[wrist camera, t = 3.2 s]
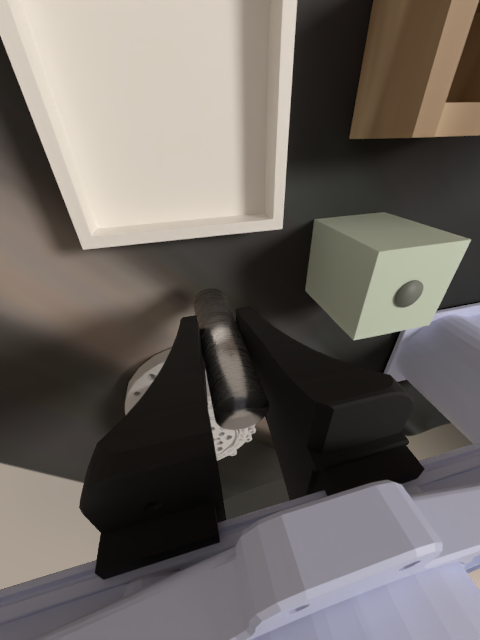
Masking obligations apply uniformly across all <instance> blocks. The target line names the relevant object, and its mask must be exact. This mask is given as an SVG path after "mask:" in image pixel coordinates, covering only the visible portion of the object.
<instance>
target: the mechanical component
mask: <svg viewBox="0 0 480 640" xmlns="http://www.w3.org/2000/svg"><path fill="white" fill-rule="evenodd" d="M171 349H172V348H170V349H168V350H165V351H163V352H161V353H159V354H156V355H154V356H153V357H152V358H151V359H149V360H148V361H147V362H146V363H144V364H143V365H142V366H141V367H139V368H138V370H137V371H136V373H135V374H134V375H133V377H132V378H131V380H130V381H129V383H128V388H127V394H126V400H125V414H126V415H127V413H128V412H129V411H130V410H131V409H132V408H133V407H134V405H135V404H136V403H137V402H138V401H139V400H140V398H141V397H142V396H143V395H144V393H145V392H146V391H147V389H148V388H149V386H150V385H151V384H152V382H153V381H154V379H155V378H156V376H157V375H158V373H159V371H160V370H161V368H162V366H163V365H164V363H165V361H166V359H167V357H168V355H169V353H170V351H171ZM205 373H206V369H205ZM206 387H207V401H208V411H209V417H210V423H211V428H212V434H213V440H214V446H215V451H216V458H217V461H218V460H220V459H222V458H224V457H226V456H228V455H230V456H234V455H236V454H237V451H236V449H238V448H239V447H241V446H242V445H243V444H244V443H245V442H249V441H251V440H252V436H251V434H253V433H255V432H256V429H255V425H256V424H257V423H256V424H254V425H252V426H250V427H247V428H244V429H239V430H228V429H224V428H222V427H220V426H219V425H218V424H217V423H216V421H215V417H214V412H213V407H212V401H211V396H210V391H209V385H208V380H207V375H206Z"/></svg>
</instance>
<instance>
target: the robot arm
mask: <svg viewBox="0 0 480 640" xmlns="http://www.w3.org/2000/svg"><path fill="white" fill-rule="evenodd" d="M236 323H237V326H238V328H239V331H240V333H241V335H242V338H243V340H244V343H245V345H246V348H247V350H248V353H249V355H250V357H251V360H252V362H253V365H254V367H255V370H256V372H257V375H258V377H259V379H260V382H261V384H262V387H263V389H264V392H265V394H266V396H267V399H268V401H269V410H268V412H267V414H266V415H265V417H266V420H267V423H268V427H269V430H270V433H271V436H272V440H273V443H274V446H275V449H276V453H277V456H278V460H279V463H280V467H281V470H282V473H283V477H284V481H285V484H286V488H287V492H288V495H289V499H290V501H287V502H284V503H281V504H277V505H274V506H271V507H268V508H264V509H261V510H258V511H255V512H251V513H248V514H245V515H242V516H239V517H235V518H232V519H229V520H226V515H225V509H224V503H223V496H222V490H221V483H220V477H219V470H218V464H217V458H216V451H215V446H214V440H213V434H212V428H211V423H210V417H209V411H208V401H207V387H206V373H205V364H204V359H203V354H202V345H201V337H200V331H199V324H198V319H197V315H195V316H189V317H183V318H182V319H181V321H180V326H179V330H178V333H177V336H176V339H175V341H174V344H173V346H172V349H171V351H170V353H169V355H168V357H167V359H166V361H165V363H164V365H163V366H162V368H161V370H160V371H159V373H158V375H157V376H156V378H155V379H154V381H153V382H152V384H151V385H150V386H149V388H148V389H147V391H146V392H145V393H144V395H143V396H142V397H141V398H140V400H139V401H138V402H137V403H136V404H135V405H134V407H133V408H132V409H131V410H130V411H129V412H128V413H127V415H126V416H125V417H124V418H123V419H122V420H121V421H120V422H119V423H118V424H117V425H116V426H115V427H114V428H113V429H112V430H111V431H110V432H109V433H108V434H107V435H106V436H104V437H103V438H102V439H101V440H100V441H99V442H98V443H97V445H96V447H95V450H94V453H93V455H92V458H91V461H90V464H89V466H88V469H87V473H86V476H85V481H84V485H83V490H82V494H81V499H80V506H79V508H80V510H81V511H82V513H83V514H84V516H85V517H86V518H87V519H88V520H89V521H90V522H91V523H92V524H93V525H94V526H95V527H96V528H97V529H98V530H99V531H100V532H101V536H100V542H99V548H98V555H97V560H95V561H92V562H89V563H86V564H83V565H79V566H76V567H73V568H70V569H66V570H63V571H60V572H56V573H53V574H50V575H47V576H44V577H41V578H37V579H34V580H31V581H27V582H24V583H21V584H17V585H14V586H11V587H8V588H4V589H1V590H0V640H480V590H479V589H478V588H477V586H476V585H475V584H474V582H473V581H472V579H471V578H470V576H469V575H468V573H470V572H472V571H475V570H477V569H479V568H480V303H475V304H469V305H464V306H459V307H454V308H448V309H443V310H438V311H436V313H435V315H434V317H433V319H432V321H431V323H430V325H428V326H423V327H418V328H413V329H408V330H403V331H401V332H400V334H399V337H398V339H397V342H396V344H395V346H394V349H393V351H392V354H391V356H390V359H389V361H388V363H387V366H386V368H385V371H384V373H381V372H377V371H373V370H369V369H365V368H361V367H358V366H355V365H352V364H349V363H346V362H343V361H340V360H337V359H334V358H332V357H329V356H327V355H325V354H322V353H320V352H317V351H315V350H313V349H311V348H309V347H307V346H305V345H303V344H301V343H299V342H298V341H296V340H294V339H292V338H291V337H289V336H287V335H286V334H284V333H283V332H281V331H280V330H278V329H277V328H275V327H274V326H272V325H271V324H270V323H268V322H267V321H266V320H264V319H263V318H262V317H261V316H259V315H258V314H257V313H256V312H254V311H253V310H252V309H250V308H249V307H246V308H240V309H236ZM403 380H408V381H409V382H410V383H411V384H412V385H413V386H414V387H415V388H416V389H417V390H418V391H419V392H420V393H421V394H422V395H423V396H424V397H425V398H426V399H427V400H428V401H430V402H431V403H432V404H433V405H434V406H435V407H436V408H437V409H438V410H439V411H440V412H441V413H442V414H443V415H444V416H445V417H446V418H447V419H448V420H449V421H450V422H451V423H452V424H453V425H454V426H456V427H457V428H458V429H459V430H460V431H461V432H462V433H463V434H464V435H465V436H466V437H467V438H468V439H469V440H470V441H471V442H472V443H473V444H472V445H469V446H466V447H463V448H459V449H456V450H453V451H450V452H446V453H443V454H440V455H437V456H433V457H430V458H427V459H424V460H420V461H418V460H417V459H416V457H415V456H414V455H413V454H412V452H411V451H410V450H409V449H408V447H407V446H406V445H408V443H409V441H408V439H407V438H406V436H405V435H404V434H403V433H402V432H401V430H402V429H403V427H404V425H405V423H406V422H407V420H408V418H409V416H410V415H411V412H412V410H413V398H412V397H411V395H410V394H409V393H408V392H407V391H406V390H405V389H404V388H403V387H402V386H401V385H400V384H399V383H398V382H399V381H403Z"/></svg>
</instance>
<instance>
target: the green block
mask: <svg viewBox="0 0 480 640" xmlns="http://www.w3.org/2000/svg"><path fill="white" fill-rule="evenodd" d="M470 241H471V239H468V238H465V237H462V236H458V235H455V234H452V233H449V232H446V231H443V230H439V229H436V228H433V227H430V226H427V225H423V224H420V223H417V222H414V221H411V220H407V219H404V218H401V217H398V216H395V215H391V214H388V213H385V212H382V213H372V214H362V215H352V216H342V217H332V218H322V219H314V226H313V234H312V242H311V249H310V257H309V265H308V272H307V280H306V288H305V291H306V292H307V293H308V294H309V295H310V296H311V297H312V298H313V299H314V300H315V301H316V302H317V303H318V304H319V305H320V306H321V308H322V309H323V310H324V311H325V312H326V313H327V314H328V315H329V316H330V317H331V318H332V319H333V320H334V321H335V322H336V323H337V324H338V325H339V326H340V327H341V328H342V329H343V330H344V331H345V332H346V333H347V334H348V335H349V336H350V337H351V338H352V339H353V340H358V339H363V338H368V337H373V336H378V335H383V334H388V333H393V332H398V331H403V330H408V329H413V328H418V327H423V326H428V325H430V323H431V321H432V319H433V317H434V315H435V313H436V311H437V309H438V307H439V305H440V303H441V301H442V299H443V297H444V295H445V293H446V290H447V288H448V286H449V284H450V282H451V280H452V278H453V276H454V274H455V272H456V270H457V268H458V266H459V264H460V262H461V260H462V258H463V256H464V254H465V251H466V249H467V247H468V245H469V243H470Z"/></svg>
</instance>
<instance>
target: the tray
mask: <svg viewBox="0 0 480 640" xmlns="http://www.w3.org/2000/svg"><path fill="white" fill-rule="evenodd" d="M296 11H297V0H0V36H1V39H2V41H3V44H4V46H5V49H6V52H7V54H8V57H9V59H10V62H11V65H12V67H13V70H14V72H15V75H16V77H17V80H18V83H19V85H20V88H21V90H22V93H23V96H24V98H25V101H26V103H27V106H28V109H29V111H30V114H31V116H32V119H33V121H34V124H35V127H36V129H37V132H38V134H39V137H40V140H41V142H42V145H43V147H44V150H45V153H46V155H47V158H48V160H49V163H50V165H51V168H52V171H53V173H54V176H55V178H56V181H57V184H58V186H59V189H60V191H61V194H62V197H63V199H64V202H65V204H66V207H67V209H68V212H69V215H70V217H71V220H72V222H73V225H74V228H75V230H76V233H77V235H78V238H79V241H80V243H81V246H82V248H83V250H85V249H95V248H105V247H114V246H124V245H133V244H143V243H152V242H162V241H172V240H181V239H191V238H200V237H210V236H219V235H229V234H239V233H248V232H258V231H267V230H277V229H283V213H284V197H285V182H286V166H287V151H288V135H289V120H290V104H291V89H292V73H293V57H294V42H295V26H296Z"/></svg>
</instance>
